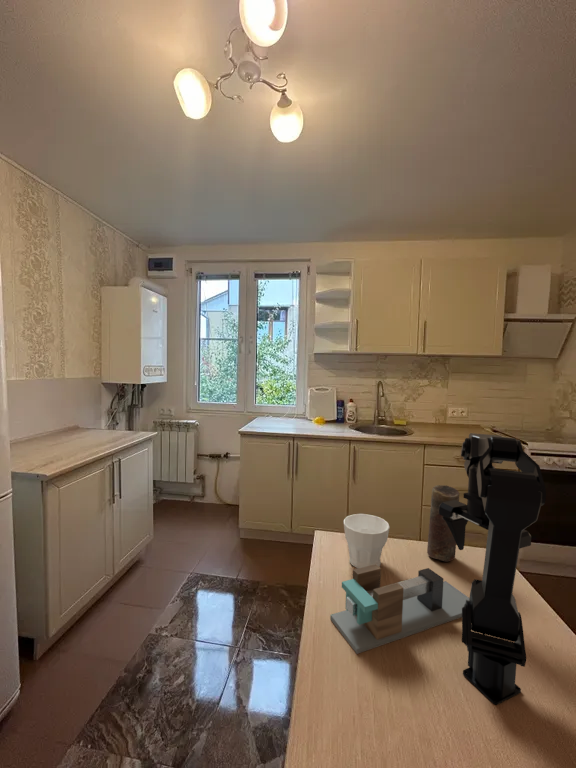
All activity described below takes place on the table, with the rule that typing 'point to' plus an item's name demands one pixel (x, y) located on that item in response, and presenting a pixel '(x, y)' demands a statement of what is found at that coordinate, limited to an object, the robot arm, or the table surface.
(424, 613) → the base board
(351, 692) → the table surface
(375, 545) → the cup
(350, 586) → the spacer
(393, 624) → the bearing block
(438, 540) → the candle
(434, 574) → the shaft
